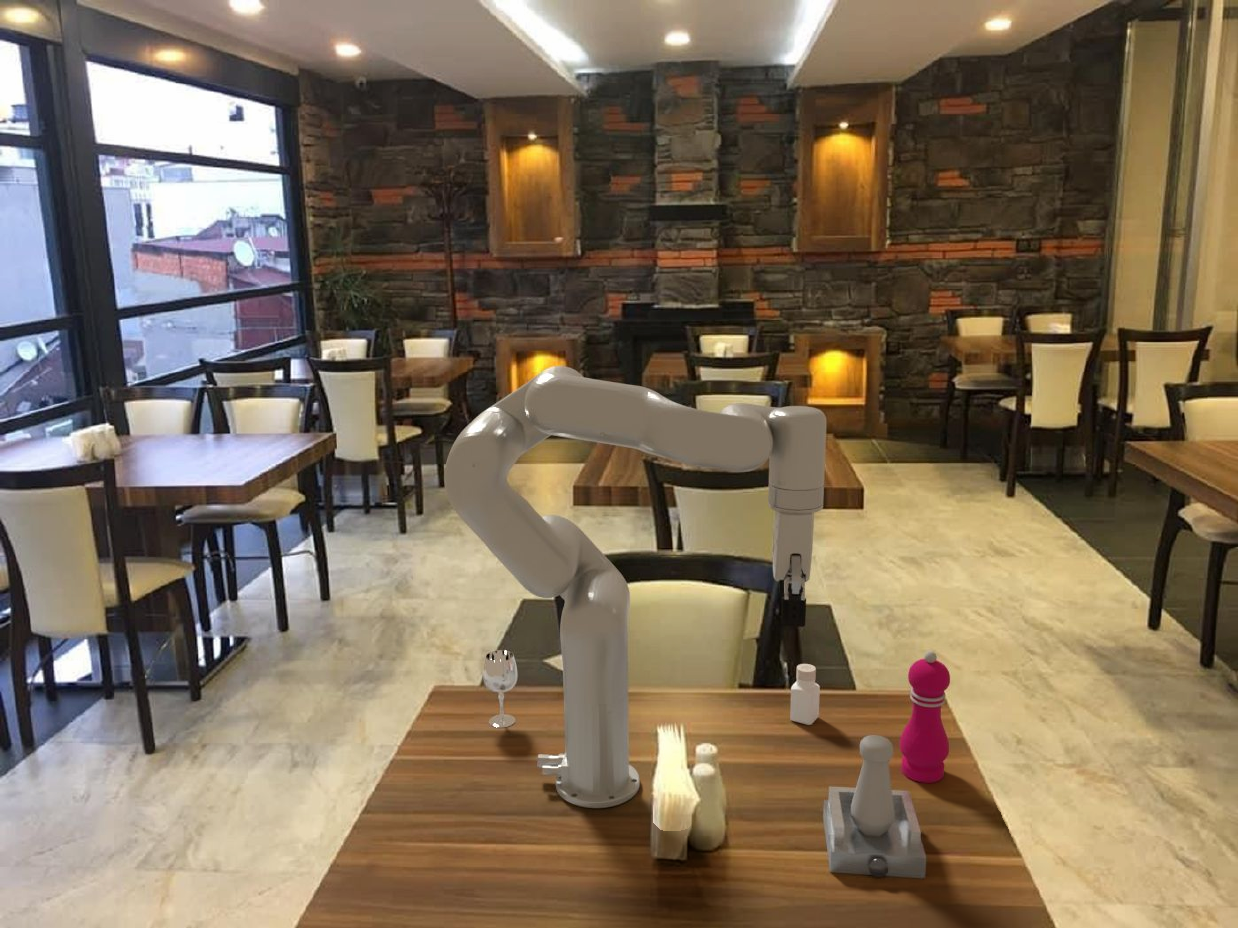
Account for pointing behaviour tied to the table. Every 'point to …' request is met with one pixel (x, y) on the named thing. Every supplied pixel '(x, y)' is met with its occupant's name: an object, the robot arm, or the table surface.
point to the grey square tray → (873, 839)
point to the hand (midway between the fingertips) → (791, 612)
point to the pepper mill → (926, 722)
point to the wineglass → (500, 681)
